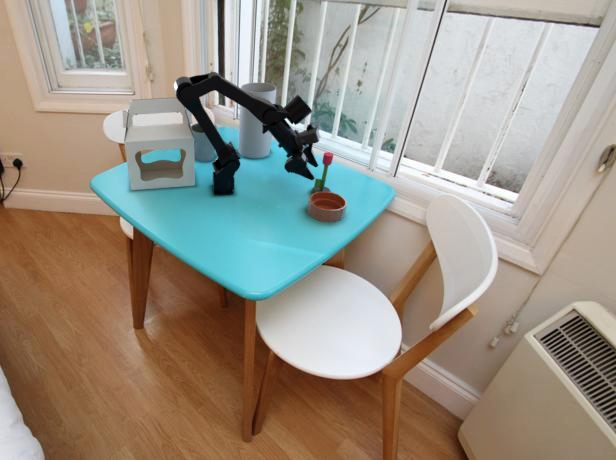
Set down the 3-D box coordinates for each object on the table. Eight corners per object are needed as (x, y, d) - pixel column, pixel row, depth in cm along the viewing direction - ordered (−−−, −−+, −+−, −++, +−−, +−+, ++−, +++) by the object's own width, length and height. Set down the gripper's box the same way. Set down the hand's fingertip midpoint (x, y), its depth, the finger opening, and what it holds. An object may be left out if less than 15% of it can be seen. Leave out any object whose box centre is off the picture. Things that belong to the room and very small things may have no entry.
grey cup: (200, 149, 152) (200, 120, 145) (222, 155, 147) (222, 125, 140) (185, 158, 145) (184, 128, 138) (207, 165, 140) (207, 134, 133)
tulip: (330, 191, 123) (339, 151, 115) (328, 199, 119) (337, 159, 111) (312, 188, 125) (320, 149, 117) (310, 196, 121) (318, 156, 113)
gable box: (192, 168, 139) (189, 90, 122) (195, 186, 128) (193, 103, 112) (131, 172, 137) (120, 94, 120) (130, 190, 126) (118, 107, 110)
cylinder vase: (272, 159, 143) (279, 92, 129) (239, 159, 144) (242, 93, 129) (267, 145, 153) (273, 82, 139) (236, 146, 154) (239, 82, 139)
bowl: (313, 224, 109) (316, 211, 106) (302, 204, 117) (304, 192, 114) (349, 222, 109) (352, 209, 106) (335, 203, 118) (338, 190, 115)
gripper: (301, 130, 103) (335, 172, 107) (310, 109, 117) (340, 146, 121) (270, 152, 111) (302, 191, 114) (282, 130, 124) (311, 165, 128)
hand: (315, 172), depth 119 cm, fingers open, 9 cm apart
